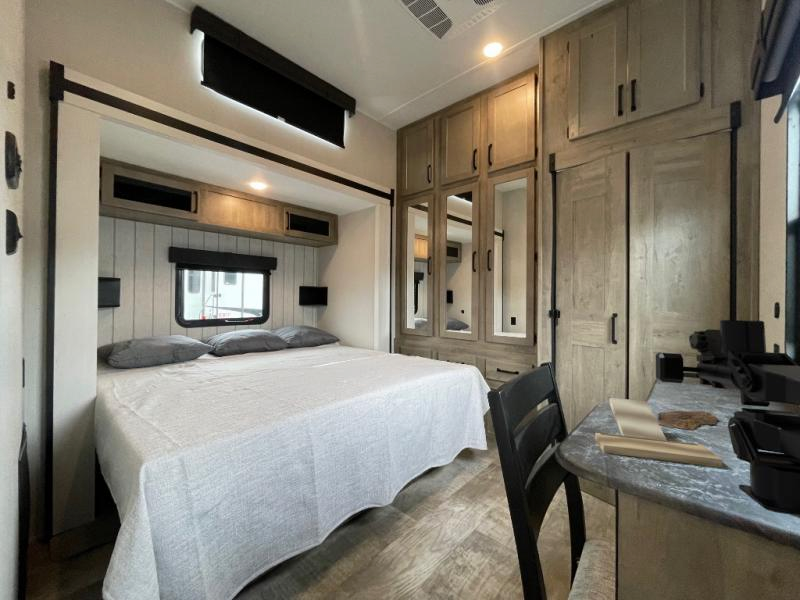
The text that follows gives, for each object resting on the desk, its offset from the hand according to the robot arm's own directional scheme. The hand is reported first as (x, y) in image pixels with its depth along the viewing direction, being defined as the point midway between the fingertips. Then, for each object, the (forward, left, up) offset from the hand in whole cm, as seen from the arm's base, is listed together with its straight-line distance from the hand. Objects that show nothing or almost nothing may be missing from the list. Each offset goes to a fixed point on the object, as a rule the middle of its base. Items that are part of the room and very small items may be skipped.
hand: (689, 366), depth 77 cm
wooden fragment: (+17, -7, -18) cm, 25 cm away
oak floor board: (-11, +11, -17) cm, 23 cm away
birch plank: (-1, +11, -14) cm, 18 cm away
